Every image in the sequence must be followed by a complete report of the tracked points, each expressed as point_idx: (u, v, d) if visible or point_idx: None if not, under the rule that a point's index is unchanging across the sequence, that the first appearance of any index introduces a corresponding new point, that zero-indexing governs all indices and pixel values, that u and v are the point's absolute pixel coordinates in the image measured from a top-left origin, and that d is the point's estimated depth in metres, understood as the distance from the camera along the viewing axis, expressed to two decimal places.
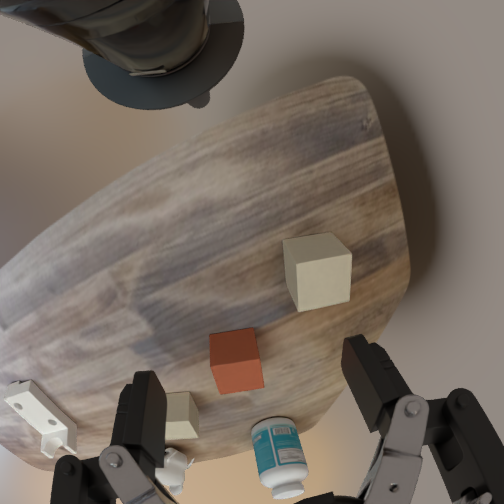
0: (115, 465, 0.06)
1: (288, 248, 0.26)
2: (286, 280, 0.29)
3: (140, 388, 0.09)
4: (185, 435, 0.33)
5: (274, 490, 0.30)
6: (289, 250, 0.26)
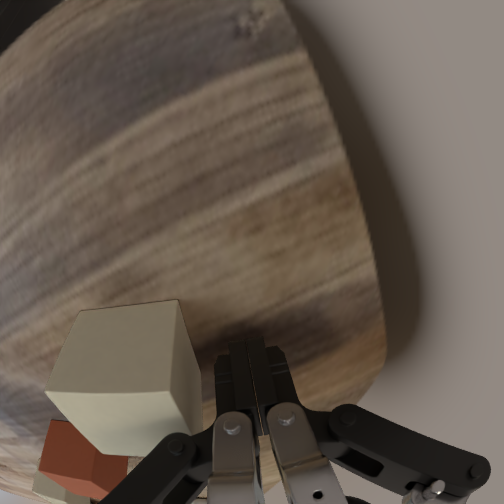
0: (236, 432, 0.08)
1: (67, 339, 0.10)
2: None
3: (239, 356, 0.11)
4: None
5: None
6: (64, 345, 0.10)
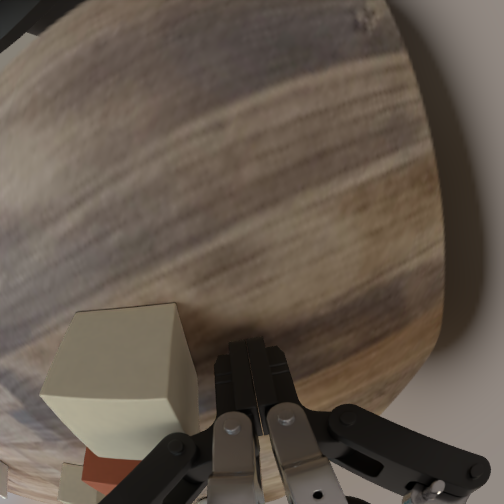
0: (236, 432, 0.08)
1: (62, 341, 0.10)
2: None
3: (239, 356, 0.11)
4: None
5: None
6: (60, 348, 0.09)
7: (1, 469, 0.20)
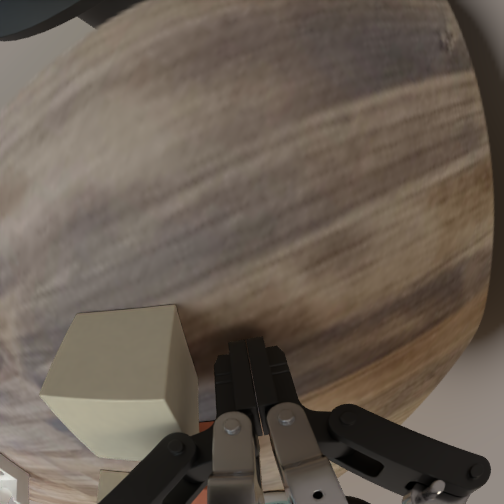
0: (236, 432, 0.08)
1: (63, 342, 0.10)
2: None
3: (239, 356, 0.11)
4: None
5: None
6: (60, 348, 0.09)
7: (22, 477, 0.21)
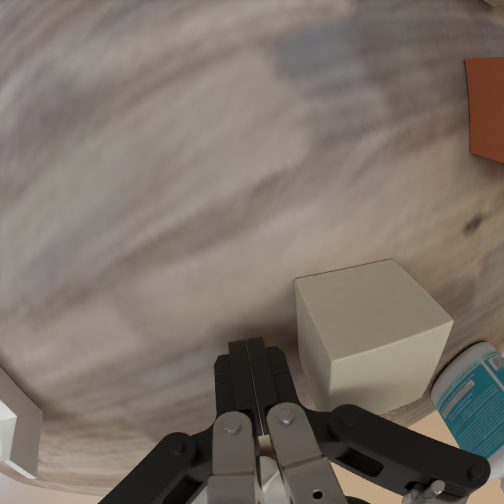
0: (236, 432, 0.08)
1: None
2: None
3: (239, 356, 0.11)
4: (398, 397, 0.10)
5: None
6: None
7: (29, 415, 0.14)
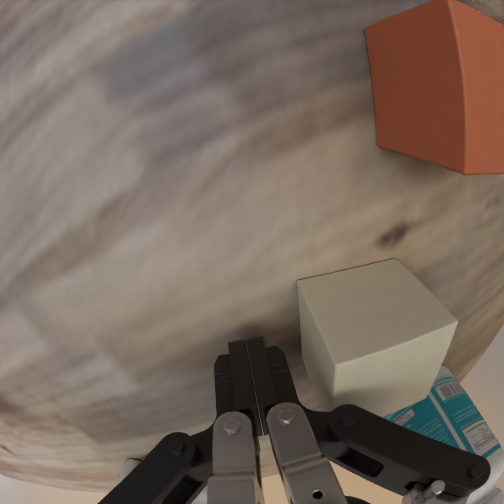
0: (236, 432, 0.08)
1: None
2: None
3: (239, 356, 0.11)
4: (402, 398, 0.10)
5: None
6: None
7: None
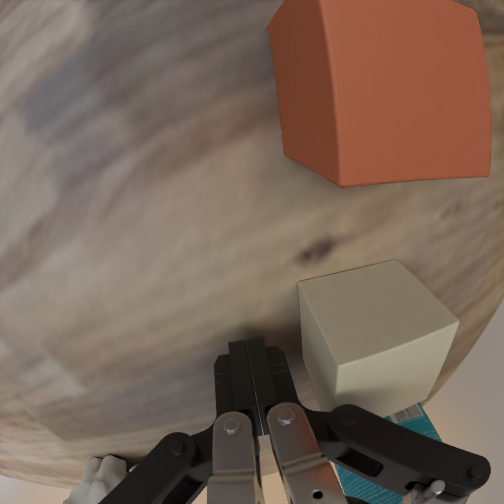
0: (236, 432, 0.08)
1: None
2: None
3: (239, 356, 0.11)
4: (404, 398, 0.10)
5: None
6: None
7: None
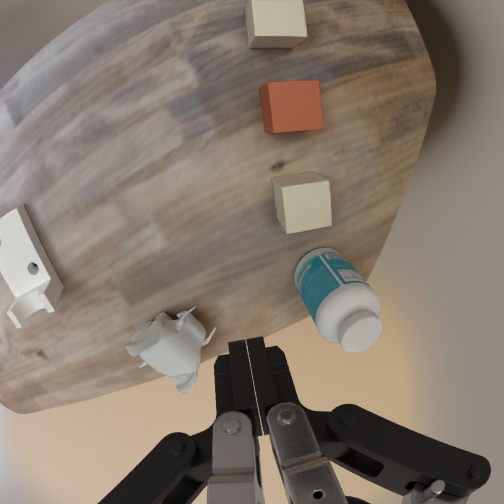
0: (236, 432, 0.08)
1: (248, 4, 0.21)
2: (248, 42, 0.25)
3: (239, 356, 0.11)
4: (317, 218, 0.30)
5: (343, 325, 0.26)
6: (248, 3, 0.21)
7: (56, 282, 0.32)
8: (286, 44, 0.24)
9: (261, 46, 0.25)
